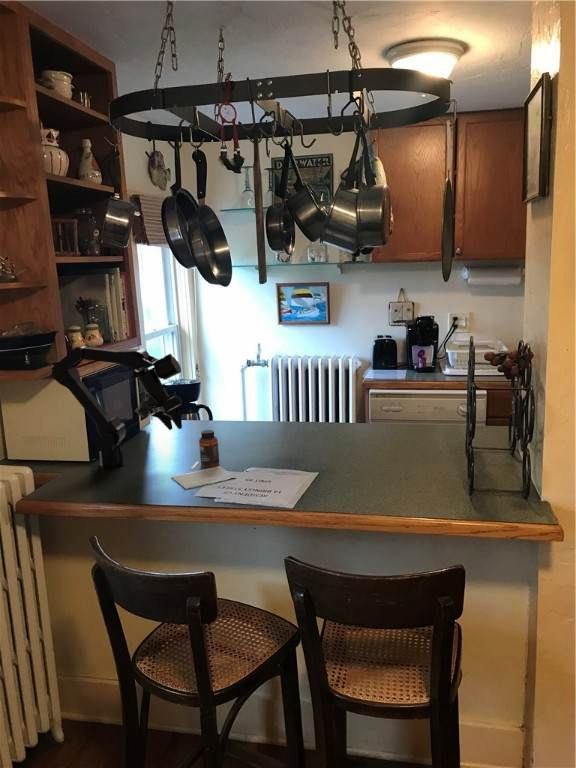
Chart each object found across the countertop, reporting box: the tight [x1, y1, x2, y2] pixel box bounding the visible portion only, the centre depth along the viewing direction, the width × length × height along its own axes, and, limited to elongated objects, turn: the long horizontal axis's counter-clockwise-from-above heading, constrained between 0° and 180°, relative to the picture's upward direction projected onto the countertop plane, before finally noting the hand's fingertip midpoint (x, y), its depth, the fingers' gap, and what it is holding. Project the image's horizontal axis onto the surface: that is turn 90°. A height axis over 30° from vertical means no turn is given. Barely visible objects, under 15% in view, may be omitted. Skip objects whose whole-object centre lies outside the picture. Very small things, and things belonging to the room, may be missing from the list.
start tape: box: [190, 460, 200, 470], centre depth 199 cm, size 1×7×1 cm, turn 173°
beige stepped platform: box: [171, 465, 230, 490], centre depth 187 cm, size 16×12×1 cm
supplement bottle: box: [198, 429, 220, 469], centre depth 197 cm, size 6×6×11 cm
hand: (175, 429), depth 198 cm, fingers open, 9 cm apart
